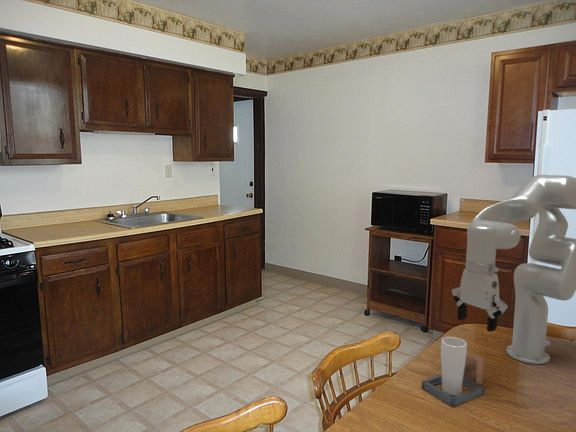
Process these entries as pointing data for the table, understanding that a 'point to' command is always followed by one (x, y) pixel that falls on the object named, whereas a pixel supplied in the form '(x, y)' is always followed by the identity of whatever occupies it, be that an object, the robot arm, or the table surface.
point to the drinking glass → (453, 364)
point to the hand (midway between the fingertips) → (476, 324)
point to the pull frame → (470, 379)
